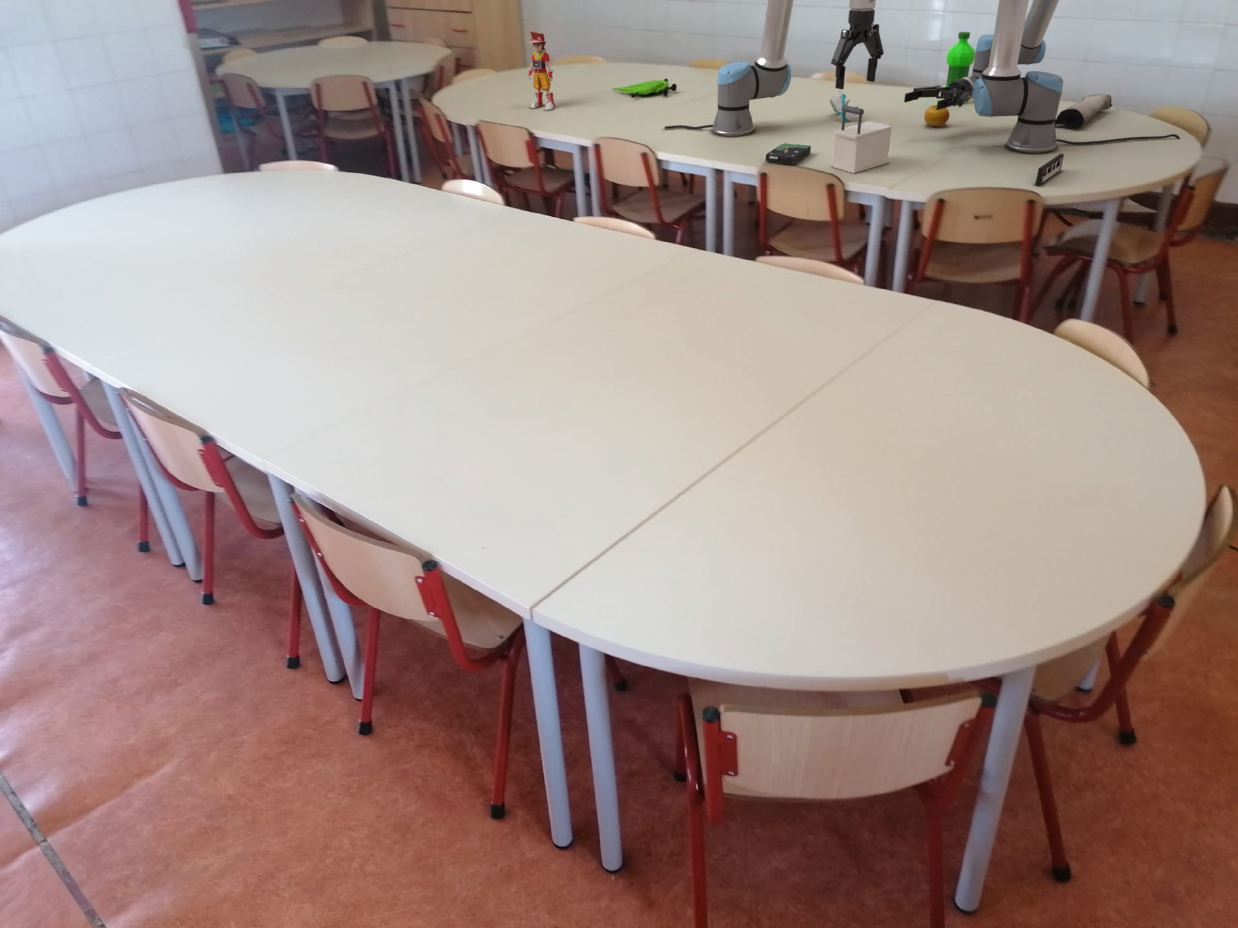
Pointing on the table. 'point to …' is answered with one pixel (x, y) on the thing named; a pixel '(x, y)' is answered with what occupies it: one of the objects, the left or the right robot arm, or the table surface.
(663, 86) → the toy
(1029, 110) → the right robot arm
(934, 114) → the fruit
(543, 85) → the toy
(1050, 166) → the midi keyboard
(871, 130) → the lid
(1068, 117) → the rolled mat
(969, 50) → the plastic bottle
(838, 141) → the chest
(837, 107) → the anatomical model
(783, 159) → the disk drive
